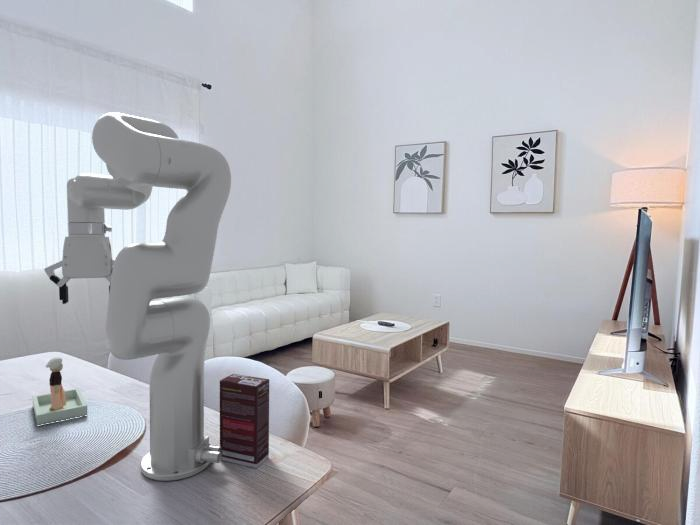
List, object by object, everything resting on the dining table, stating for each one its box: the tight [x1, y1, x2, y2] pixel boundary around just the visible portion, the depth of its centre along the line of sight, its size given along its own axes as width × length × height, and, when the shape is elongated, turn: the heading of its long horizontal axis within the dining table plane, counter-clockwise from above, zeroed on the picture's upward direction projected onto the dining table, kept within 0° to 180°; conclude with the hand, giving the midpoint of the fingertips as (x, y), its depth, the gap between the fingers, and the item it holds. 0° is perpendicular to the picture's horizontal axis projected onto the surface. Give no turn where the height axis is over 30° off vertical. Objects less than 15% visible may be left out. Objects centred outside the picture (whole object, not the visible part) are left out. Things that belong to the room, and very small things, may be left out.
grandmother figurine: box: [45, 356, 66, 411], centre depth 103 cm, size 8×4×13 cm, turn 52°
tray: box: [32, 387, 88, 426], centre depth 104 cm, size 14×10×3 cm
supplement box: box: [219, 373, 270, 469], centre depth 85 cm, size 9×5×16 cm, turn 70°
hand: (89, 301), depth 105 cm, fingers open, 9 cm apart
